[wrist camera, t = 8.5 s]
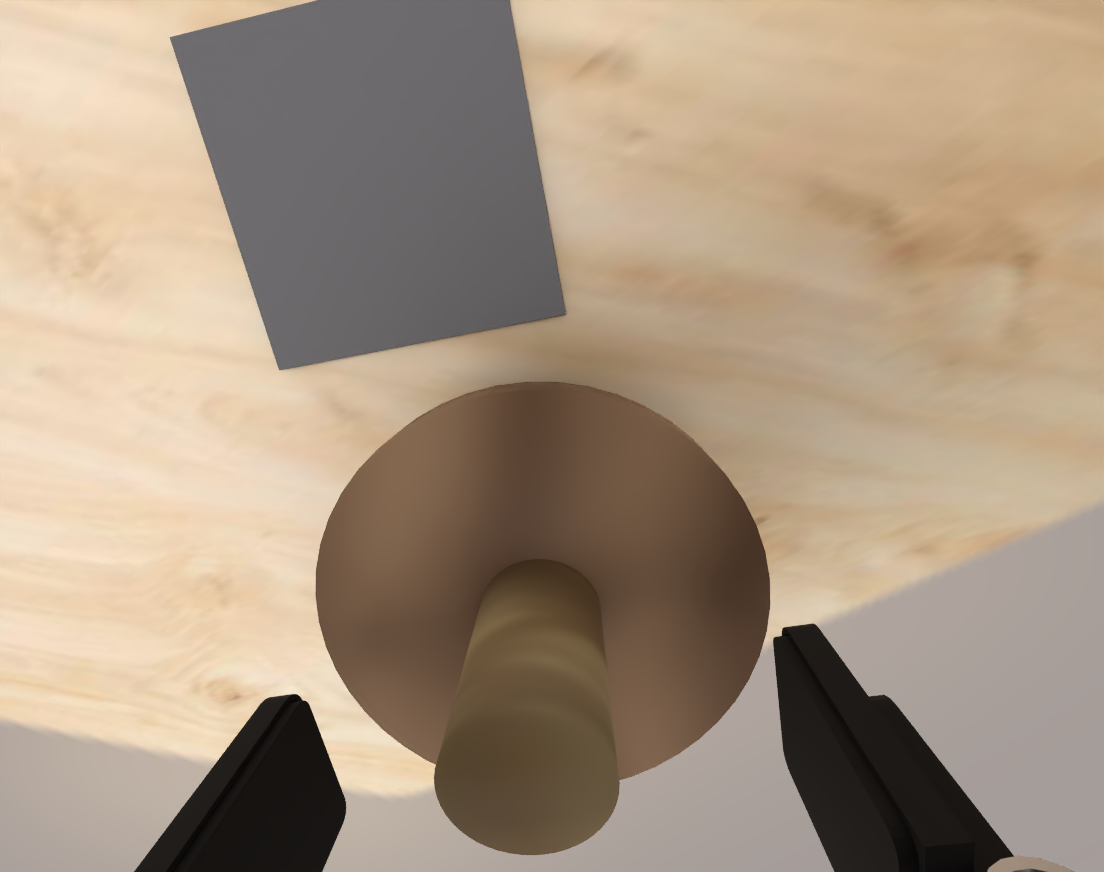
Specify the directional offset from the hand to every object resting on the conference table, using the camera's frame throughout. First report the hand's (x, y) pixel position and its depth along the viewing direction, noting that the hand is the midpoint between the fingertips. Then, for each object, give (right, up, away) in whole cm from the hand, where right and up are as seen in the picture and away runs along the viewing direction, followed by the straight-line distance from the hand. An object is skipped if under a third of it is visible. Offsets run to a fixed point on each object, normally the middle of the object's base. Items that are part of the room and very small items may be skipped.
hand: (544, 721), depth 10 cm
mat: (-7, +17, +13) cm, 22 cm away
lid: (0, +1, +5) cm, 5 cm away
